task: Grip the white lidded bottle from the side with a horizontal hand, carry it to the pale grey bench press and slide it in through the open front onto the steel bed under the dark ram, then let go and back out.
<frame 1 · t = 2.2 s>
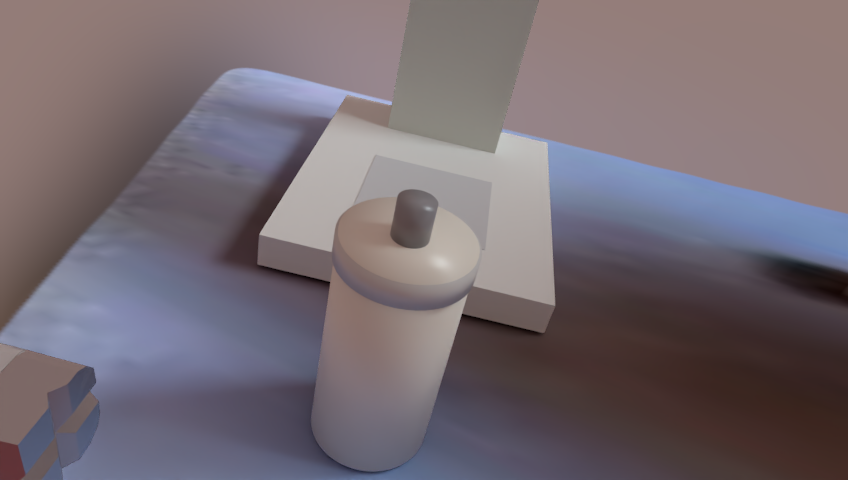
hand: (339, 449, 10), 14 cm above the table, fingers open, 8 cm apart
press: (419, 225, 42), on the table
white lidded bottle: (368, 421, 28), on the table
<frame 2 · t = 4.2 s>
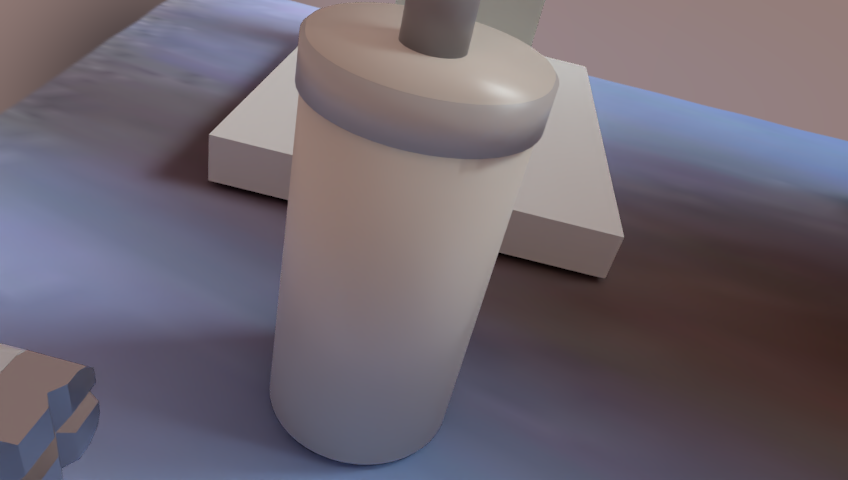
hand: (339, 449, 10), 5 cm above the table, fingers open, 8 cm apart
press: (430, 148, 32), on the table
white lidded bottle: (360, 388, 18), on the table
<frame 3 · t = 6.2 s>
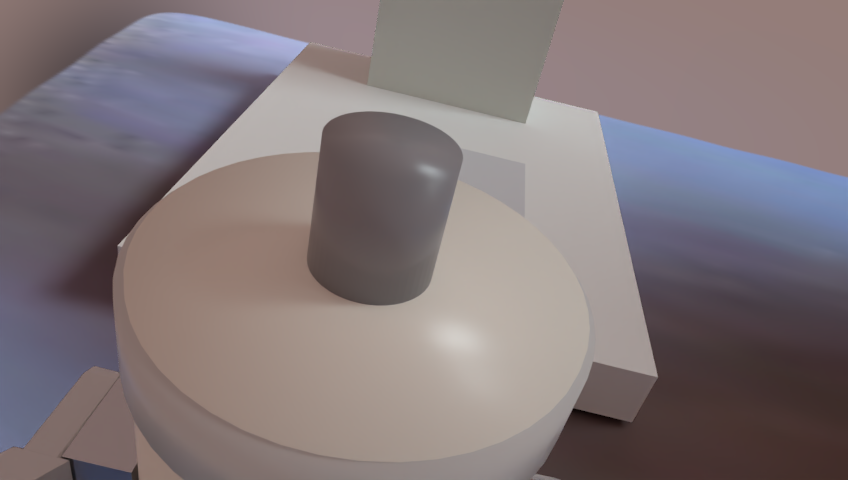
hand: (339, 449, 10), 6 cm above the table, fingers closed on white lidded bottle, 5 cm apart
press: (413, 229, 26), on the table
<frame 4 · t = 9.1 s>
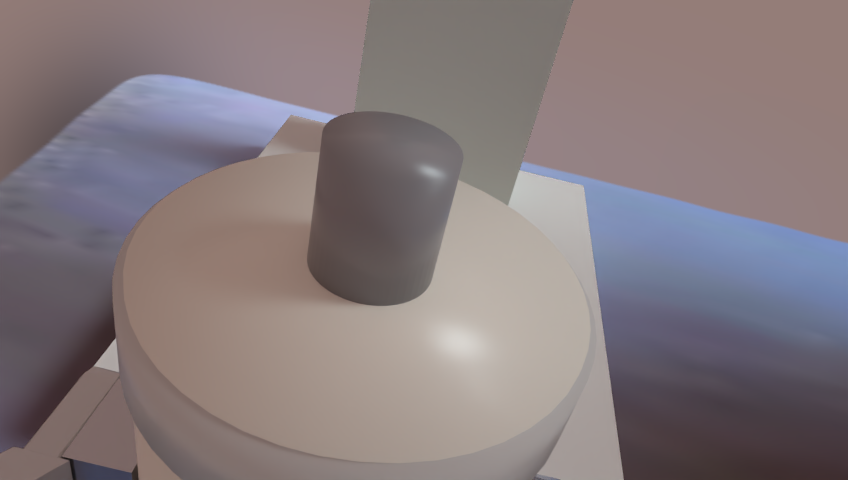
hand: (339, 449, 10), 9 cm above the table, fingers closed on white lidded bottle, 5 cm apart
press: (388, 334, 25), on the table
when the fingers open (8 cm above the table, at t = 12.1 s): white lidded bottle stays where it is, resting on press.
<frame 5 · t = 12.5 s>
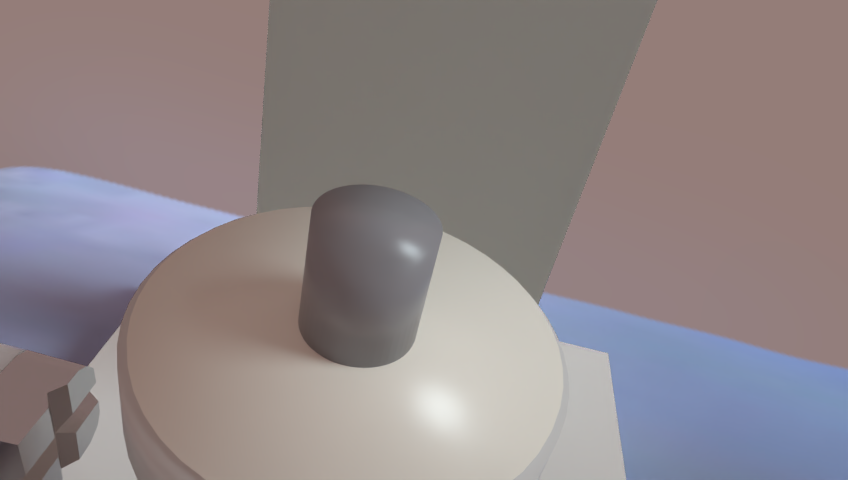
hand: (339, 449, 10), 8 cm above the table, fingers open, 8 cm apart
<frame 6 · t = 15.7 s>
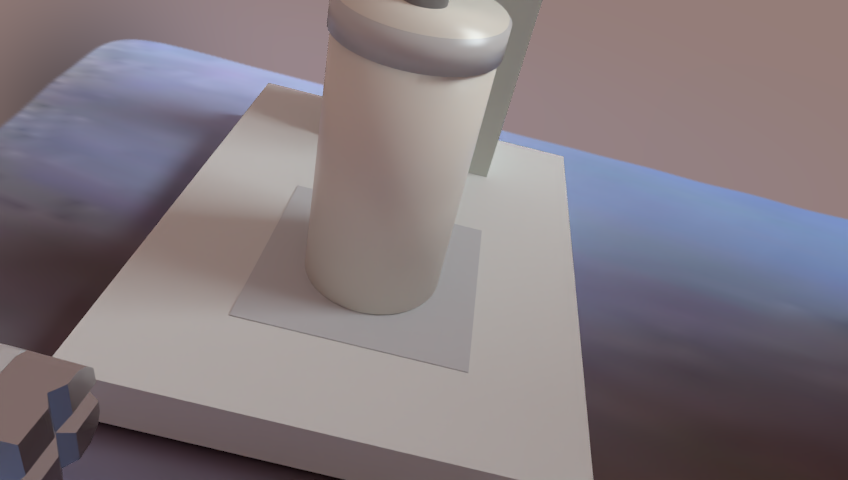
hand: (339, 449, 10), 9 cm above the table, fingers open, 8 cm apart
press: (364, 305, 26), on the table
white lidded bottle: (372, 266, 24), point 2 cm above the table, touching press
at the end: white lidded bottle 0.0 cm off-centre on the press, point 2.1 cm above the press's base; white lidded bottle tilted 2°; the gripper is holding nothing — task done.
